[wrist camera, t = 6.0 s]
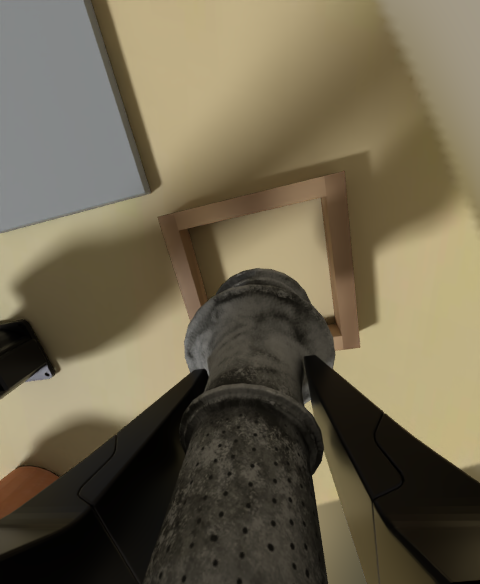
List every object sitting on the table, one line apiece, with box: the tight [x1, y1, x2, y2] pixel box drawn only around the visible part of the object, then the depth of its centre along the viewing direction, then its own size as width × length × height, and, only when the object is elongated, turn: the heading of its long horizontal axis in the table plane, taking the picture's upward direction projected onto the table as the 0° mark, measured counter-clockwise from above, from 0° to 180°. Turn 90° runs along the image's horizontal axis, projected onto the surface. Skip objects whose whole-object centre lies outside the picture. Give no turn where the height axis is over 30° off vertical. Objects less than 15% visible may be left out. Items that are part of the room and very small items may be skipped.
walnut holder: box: [158, 171, 360, 351], centre depth 19 cm, size 12×12×2 cm
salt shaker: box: [143, 268, 335, 584], centre depth 8 cm, size 6×6×12 cm
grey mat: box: [0, 0, 151, 233], centre depth 18 cm, size 14×14×1 cm
